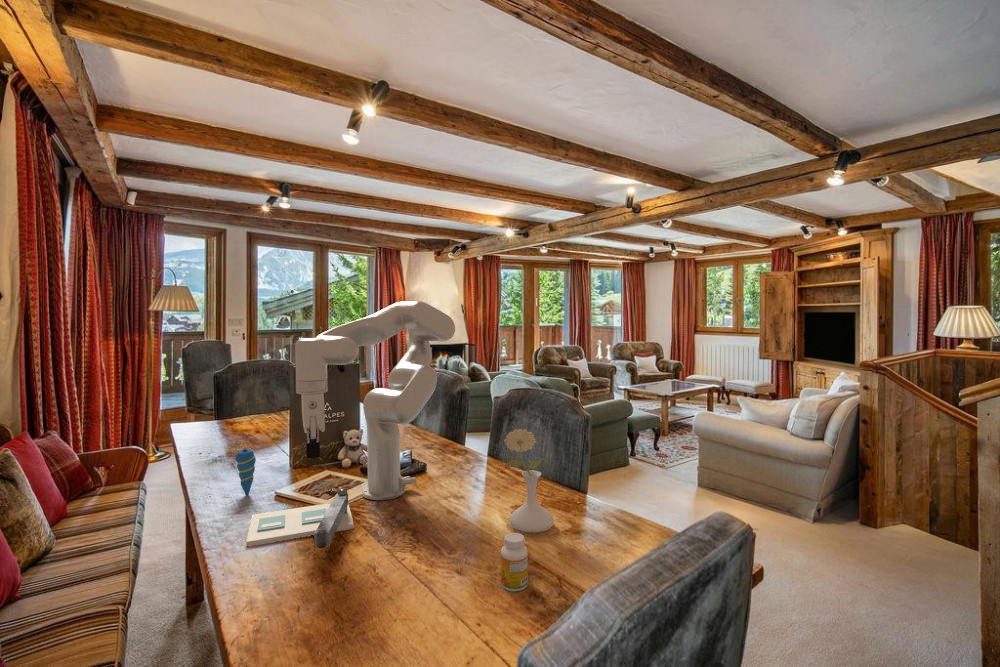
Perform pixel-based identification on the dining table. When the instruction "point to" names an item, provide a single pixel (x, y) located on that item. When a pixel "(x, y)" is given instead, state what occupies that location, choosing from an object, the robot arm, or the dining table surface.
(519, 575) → the supplement bottle
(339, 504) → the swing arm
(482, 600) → the dining table surface
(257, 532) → the label board
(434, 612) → the dining table surface
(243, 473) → the ornament
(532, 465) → the flower in vase
